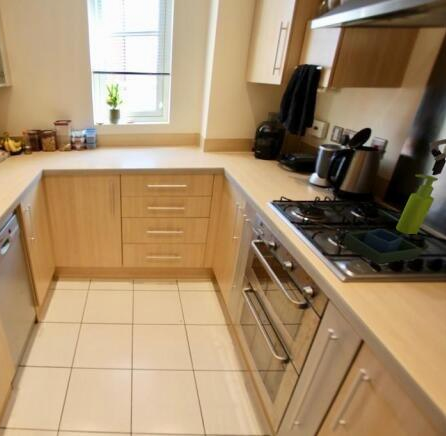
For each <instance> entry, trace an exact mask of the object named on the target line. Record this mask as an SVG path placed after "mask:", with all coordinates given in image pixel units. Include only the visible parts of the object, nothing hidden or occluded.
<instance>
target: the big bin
mask: <svg viewBox="0 0 446 436" xmlns="http://www.w3.org/2000/svg"><path fill="white" fill-rule="evenodd" d="M381 229H382V230H385V231H387V232H390V233H392V234H394V233H393V232H391V231H390V230H388V229H386V228H381ZM374 230H375V229H372V230H364V231H356V232H348V233H345V236H344V238H343V241H342V244H343V243H344V244H345V245H346V247H347V248H348V249H350V250H351V251H353V252H355V253H357V254H360V255H362V256H363V257H365V258H367V259H368V260H371V261H374V262H375V263H378V264H385V263H389V262H395V261H400V260H411V259H417V260H418V259H419V257H420V255H421V253H422V251H423V248H422V247H419V246H418V245H416V244H414V243H412V242H410V241H408V240H407V239H404V238H403V239H402V241H401V243H400V245H399V247H398V249H397V251H395V252H388V253H381V254H380V253H379V252H377V251H376V250H374V249H372V248H371V247H369V246H368V245H366V244H364V243H363V241H364V239H365V236H366V234H367V233H369V232H371V231H374ZM347 248H346V249H347ZM348 249H347V250H348ZM350 250H349V251H350ZM351 251H350V252H351ZM353 252H352V253H353Z"/></svg>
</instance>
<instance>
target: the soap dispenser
mask: <svg viewBox="0 0 446 436" xmlns="http://www.w3.org/2000/svg"><path fill="white" fill-rule="evenodd" d="M415 177H416V178H423V179H425V182H424V184H421V185H419V187H418V189H417V192H415V193H411V194H410V196H409V198H408V200H407V201H406V205H405V206H404V208H403V211H402V213H401V216H400V217H399V220H398V222H397V224H396V227H395V229H396V230H397V232H399V233H402V234H405V235H409V234H416V235H418V233H419V231H420V229H421V227H422V225H423V223H424V221H425V219H426V217H427V215H428V213H429V211H430V209H431V206H432V205H433V203H434V201H435V198H434V197H433V196H431V195H432V193H433V191H434V189H435V188H434V187H433V186H432V185H433V183H434V182H437V181H438V180H439V178H437V177H435V176H433V175H428V174H422V173H421V174H419V173H418V174H415Z"/></svg>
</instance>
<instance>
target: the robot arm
mask: <svg viewBox="0 0 446 436" xmlns="http://www.w3.org/2000/svg"><path fill="white" fill-rule="evenodd" d="M442 145H444V147H443V149H442V150H443V151H441V150H440V148H439V146H442ZM429 148H430V153H431V155H432V156H433V158H434V159H433V160H434V164H433V166H432V168H431V171H432V174H431V176H437V175H440V174H442V172H443V170H444V168H445V165H446V138H444V139H439V140H435V141H431V142H429Z"/></svg>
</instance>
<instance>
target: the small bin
mask: <svg viewBox="0 0 446 436" xmlns="http://www.w3.org/2000/svg"><path fill="white" fill-rule="evenodd" d="M382 229H383V228H377V229H373V230H374V231H371V230H370V231H371V232H369V233H367V234H366V236H365V239H364V241H363V243H364V244H366V245H368V246H369V247H371V248H372V249H374V250H376V251H377V252H379V253H380V254H381V253H388V252H395V251H397V249H398V247H399V245H400V243H401V241H402V239H404V237H402V236H399V235H397V234H396V233H393V232H391V231H390V232H391V233H390V232H387V231H385V230H382ZM392 233H393V234H392Z"/></svg>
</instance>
